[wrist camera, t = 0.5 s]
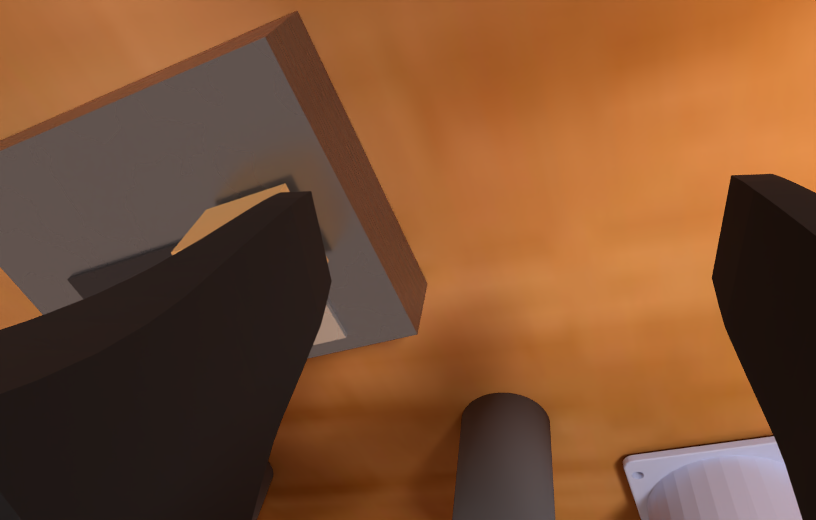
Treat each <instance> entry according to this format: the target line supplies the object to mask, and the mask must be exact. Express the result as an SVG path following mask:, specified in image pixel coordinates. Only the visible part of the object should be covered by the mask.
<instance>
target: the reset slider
mask: <svg viewBox="0 0 816 520" xmlns="http://www.w3.org/2000/svg"><path fill="white" fill-rule="evenodd" d="M280 192H290V191H289V189H288V187H287V185H286V184H282V185H279V186H276V187H273V188H270V189H267V190H264V191H261V192H258V193H255V194H252V195H249V196H246V197H243V198H240V199H237V200H234V201H231V202H228V203H225V204H222V205H219V206H216V207H213V208H210V209H207V210H205V212H204V213H203V214H202V215H201V217H200V218H199V219H198V220H197V221H196V223H195V224H194V225H193V226H192V228H191V229H190V230H189V231H188V232H187V234H186V235H185V236H184V237H183V239H182V240H181V241H180V242H179V243H178V245H177V246H176V247H175V248H174V249H173V251H172V252H171V254H172V255H174V254H176V253H178V252H179V251H181V250H183V249H184V248H186V247H188V246H190V245H191V244H193V243H195V242H197V241H198V240H200V239H202V238H203V237H205V236H207V235H208V234H210V233H211V232H213V231H215V230H216V229H218V228H219V227H221V226H223V225H224V224H226V223H227V222H229V221H231V220H232V219H234V218H235V217H237V216H239V215H240V214H242V213H243V212H245V211H247V210H248V209H250V208H252V207H253V206H255V205H257V204H258V203H260V202H262V201H263V200H265V199H267V198H269V197H271V196H273V195H275V194H278V193H280ZM326 258H327V257H326ZM328 261H329V260H328V258H327V263H328Z"/></svg>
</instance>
